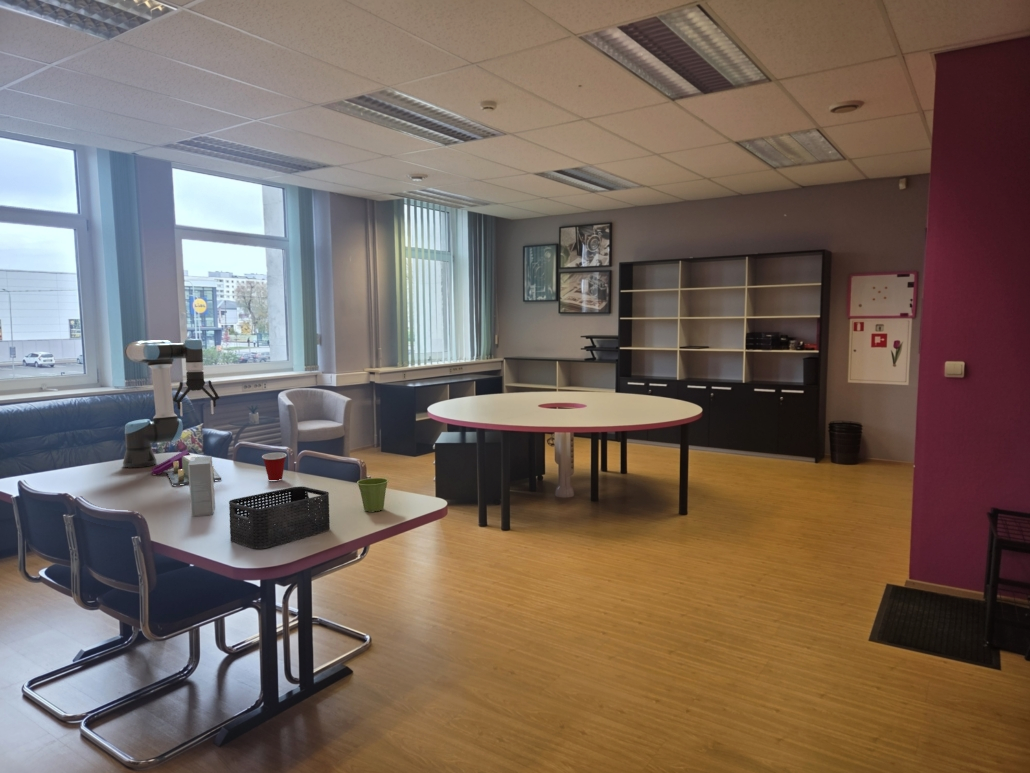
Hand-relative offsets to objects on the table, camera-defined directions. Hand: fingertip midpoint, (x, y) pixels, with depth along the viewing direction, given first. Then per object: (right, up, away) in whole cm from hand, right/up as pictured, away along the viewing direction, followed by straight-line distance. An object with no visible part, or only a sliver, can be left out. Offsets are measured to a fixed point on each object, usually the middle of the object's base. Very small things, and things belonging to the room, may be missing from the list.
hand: (197, 415), depth 323 cm
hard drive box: (+34, -34, -67) cm, 82 cm away
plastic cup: (+43, -30, -15) cm, 55 cm away
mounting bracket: (-15, -29, +6) cm, 33 cm away
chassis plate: (+2, -29, -7) cm, 30 cm away
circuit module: (+2, -28, -7) cm, 29 cm away
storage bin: (+75, -37, -98) cm, 129 cm away
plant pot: (+100, -34, -68) cm, 126 cm away
